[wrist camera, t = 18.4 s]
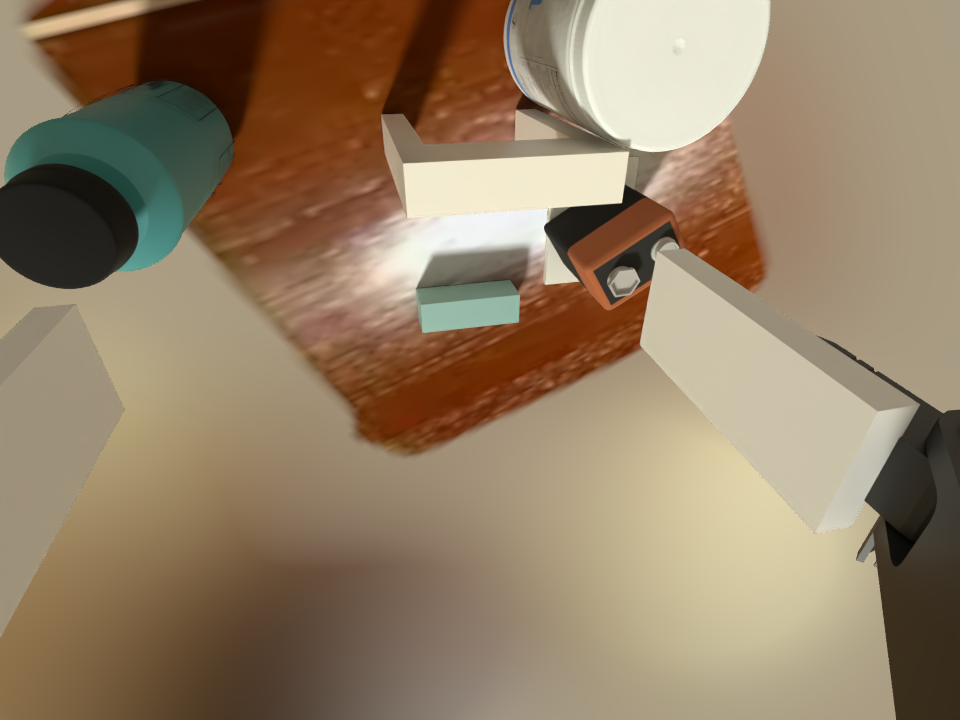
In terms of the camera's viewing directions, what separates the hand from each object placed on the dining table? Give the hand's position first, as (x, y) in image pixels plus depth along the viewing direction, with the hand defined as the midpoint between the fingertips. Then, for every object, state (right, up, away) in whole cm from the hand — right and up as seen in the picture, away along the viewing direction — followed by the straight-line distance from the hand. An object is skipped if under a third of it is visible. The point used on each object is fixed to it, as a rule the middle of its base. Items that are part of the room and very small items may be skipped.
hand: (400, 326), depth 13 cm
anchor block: (+1, +4, +32) cm, 33 cm away
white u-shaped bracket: (+1, +16, +25) cm, 30 cm away
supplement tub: (+8, +21, +24) cm, 33 cm away
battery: (+11, +11, +31) cm, 34 cm away
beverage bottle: (-17, +14, +22) cm, 31 cm away
